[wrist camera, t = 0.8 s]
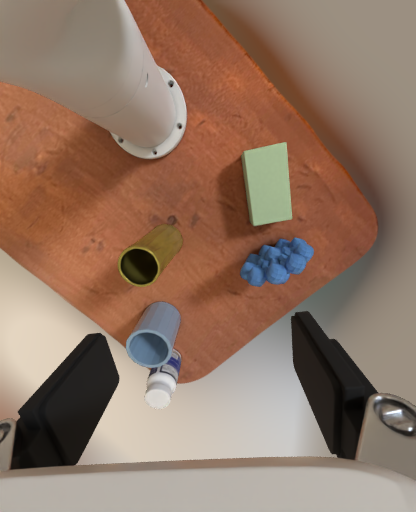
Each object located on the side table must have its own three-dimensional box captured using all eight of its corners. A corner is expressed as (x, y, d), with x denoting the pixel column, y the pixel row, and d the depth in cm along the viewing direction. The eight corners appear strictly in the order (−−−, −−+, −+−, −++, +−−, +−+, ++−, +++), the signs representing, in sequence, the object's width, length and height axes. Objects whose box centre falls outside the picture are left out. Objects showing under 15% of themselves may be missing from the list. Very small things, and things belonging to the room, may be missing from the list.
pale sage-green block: (241, 155, 34) (243, 151, 30) (278, 147, 34) (286, 141, 30) (250, 222, 37) (253, 226, 33) (284, 216, 37) (292, 219, 33)
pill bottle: (161, 369, 48) (147, 413, 39) (152, 349, 47) (136, 390, 37) (185, 364, 47) (177, 408, 38) (177, 344, 46) (166, 384, 36)
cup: (139, 304, 43) (119, 332, 35) (175, 299, 43) (165, 326, 34) (149, 336, 46) (133, 370, 37) (184, 331, 45) (176, 365, 36)
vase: (185, 227, 38) (167, 248, 24) (180, 259, 40) (160, 294, 26) (152, 220, 38) (115, 238, 24) (148, 252, 40) (112, 285, 26)
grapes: (245, 281, 41) (255, 317, 29) (232, 250, 39) (237, 275, 28) (304, 258, 39) (341, 287, 27) (293, 225, 37) (327, 241, 26)
